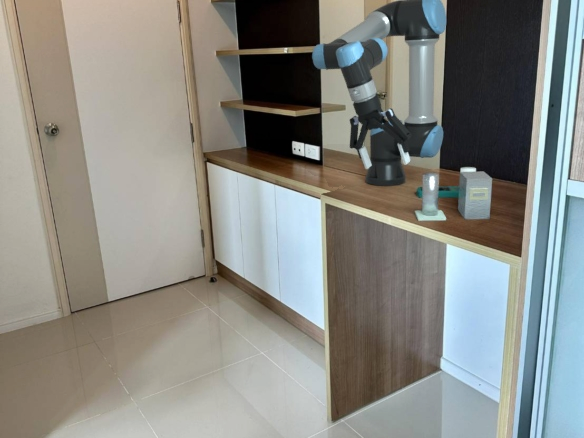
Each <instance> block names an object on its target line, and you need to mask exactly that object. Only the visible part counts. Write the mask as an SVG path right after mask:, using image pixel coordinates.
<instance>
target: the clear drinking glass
mask: <svg viewBox="0 0 584 438" xmlns="http://www.w3.org/2000/svg"><path fill="white" fill-rule="evenodd" d="M439 183H440V174H439V173H435V172H426V173H422V186H421V187H422V198H421V200H422V201H421V210H422V214H423V215H425V216H436V215H438V210H439V198H438V190H439V187H440V186H439Z"/></svg>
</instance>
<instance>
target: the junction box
mask: <svg viewBox="0 0 584 438" xmlns="http://www.w3.org/2000/svg"><path fill="white" fill-rule="evenodd" d="M458 183H459V185H458V187H459V198H458V204H457V205H458V206H457V211H458V212H459V213H460V215H461V216H462V217H463V218H464V220H490V216H491V214H490V213H491V202H492V201H491V199H492V185H493V178H492V177H491V176H490V175H489V174H488V173H486V172H485V171H481V170H480V171H476V172H459V182H458Z"/></svg>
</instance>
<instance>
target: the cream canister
mask: <svg viewBox="0 0 584 438" xmlns="http://www.w3.org/2000/svg"><path fill="white" fill-rule="evenodd" d="M460 172H477V168H476V167H474V166H472V167H471V166H463V167H460ZM460 172H459V173H460Z"/></svg>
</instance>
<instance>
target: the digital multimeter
mask: <svg viewBox="0 0 584 438" xmlns="http://www.w3.org/2000/svg"><path fill="white" fill-rule="evenodd" d="M416 196H417V197H418V198H421V199H422V186H418V187H417V188H416ZM439 198H450V199H451V198H453V199H459V185H458V186H439V190H438V199H439Z"/></svg>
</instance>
